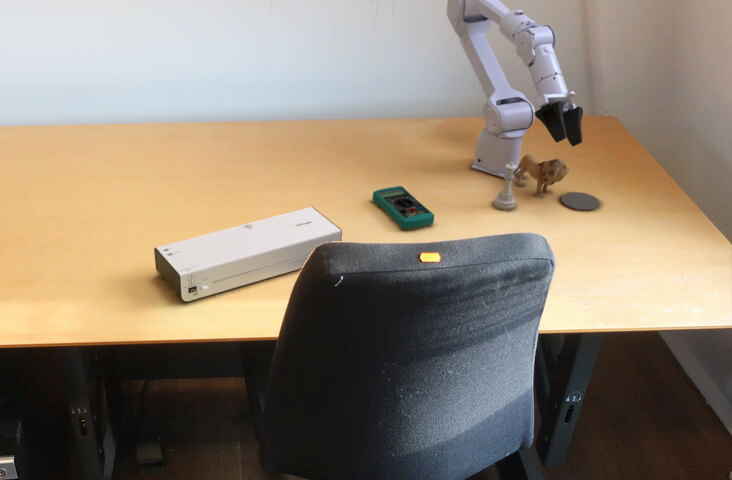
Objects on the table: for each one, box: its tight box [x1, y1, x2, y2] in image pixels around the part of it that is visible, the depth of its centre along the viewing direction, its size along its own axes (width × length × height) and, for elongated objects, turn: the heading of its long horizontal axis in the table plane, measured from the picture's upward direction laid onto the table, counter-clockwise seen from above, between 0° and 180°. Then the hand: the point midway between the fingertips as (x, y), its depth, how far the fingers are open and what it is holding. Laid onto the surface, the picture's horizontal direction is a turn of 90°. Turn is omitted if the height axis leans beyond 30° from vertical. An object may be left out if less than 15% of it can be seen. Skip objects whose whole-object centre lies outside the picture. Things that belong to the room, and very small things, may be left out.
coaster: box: [560, 191, 600, 212], centre depth 186 cm, size 8×8×1 cm
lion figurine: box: [513, 154, 571, 198], centre depth 189 cm, size 15×5×9 cm, turn 34°
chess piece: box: [493, 162, 517, 211], centre depth 181 cm, size 4×4×10 cm
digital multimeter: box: [372, 185, 435, 231], centre depth 180 cm, size 7×15×3 cm, turn 21°
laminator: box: [153, 206, 343, 303], centre depth 162 cm, size 34×12×6 cm, turn 119°
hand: (569, 142), depth 174 cm, fingers open, 7 cm apart
